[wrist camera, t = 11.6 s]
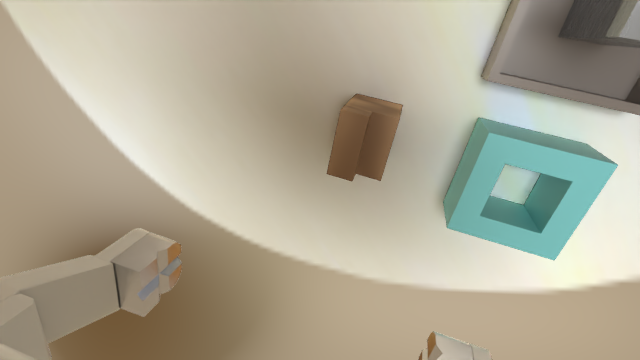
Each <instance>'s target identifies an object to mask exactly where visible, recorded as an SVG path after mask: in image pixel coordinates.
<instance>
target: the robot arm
mask: <svg viewBox="0 0 640 360" xmlns="http://www.w3.org/2000/svg"><path fill="white" fill-rule="evenodd" d="M179 254H181V244H179V243H178V242H175V241H173V240H170V239H167V238H165V237H162V236H159V235H157V234H154V233H151V232H148V231H146V230H143V229H140V228H138V229H134V230H132V231H131V232H129V233H128V234H126V235H125V236H123V237H122V238H120V239H119V240H117V241H116V242H114V243H113V244H112V245H110V246H109V247H107V248H106V249H104V250H103V251H101V252H100V253H98V254H97V255H95V256H92V255H88V256H84V257H80V258H76V259H72V260H68V261H64V262H60V263H56V264H52V265H48V266H44V267H41V268H36V269H33V270H29V271H25V272H21V273H17V274H13V275H9V276H5V277H1V278H0V360H51V357H52V356H51V353H50V350H49V347H48V343H50V342H52V341H54V340H56V339H58V338H60V337H62V336H65V335H67V334H69V333H71V332H73V331H75V330H77V329H80V328H82V327H84V326H86V325H88V324H90V323H92V322H94V321H97V320H99V319H101V318H103V317H105V316H107V315H109V314H111V313H114V312H116V311H118V310H119V309H120V308H121V309H124V310H126V311H129V312H132V313H135V314H137V315H140V316H143V317H144V316H145V315H146V314H147V313H148V312H149V311H150V310H151V309H152V308H153V307H154V306H155V305H156V304H157V303H158V302H159V301H160V294H162V293H165V292H168V291H170V290H171V289H172V287H173V286H174V285H175V284H176V282H177V281H178V278H179V277H180V274H181V270H182V263H181V261H180V259H179V258H178V256H179ZM427 346H428V347H427V348H426V349H423V350H422V352H421V354H420V356H419V359H418V360H492V356H491V353H490V352H489V350H487V349H484V348H481V347H478V346H476V345H473V344H468V343H467V342H464V341H461V340H458V339H455V338H452V337H449V336H446V335H443V334H440V333H437V332H434V331H433V332H432V333H431V334H430V336H429V337H428V340H427Z"/></svg>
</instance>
